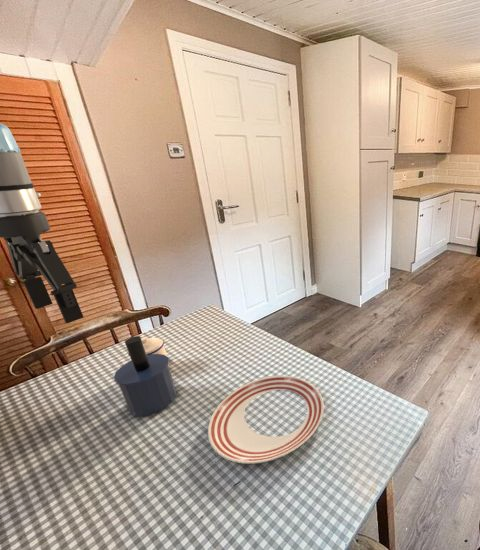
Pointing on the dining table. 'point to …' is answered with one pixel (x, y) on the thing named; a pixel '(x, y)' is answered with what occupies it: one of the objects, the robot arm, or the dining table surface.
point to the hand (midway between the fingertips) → (58, 312)
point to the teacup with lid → (153, 346)
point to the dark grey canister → (150, 394)
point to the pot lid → (140, 364)
